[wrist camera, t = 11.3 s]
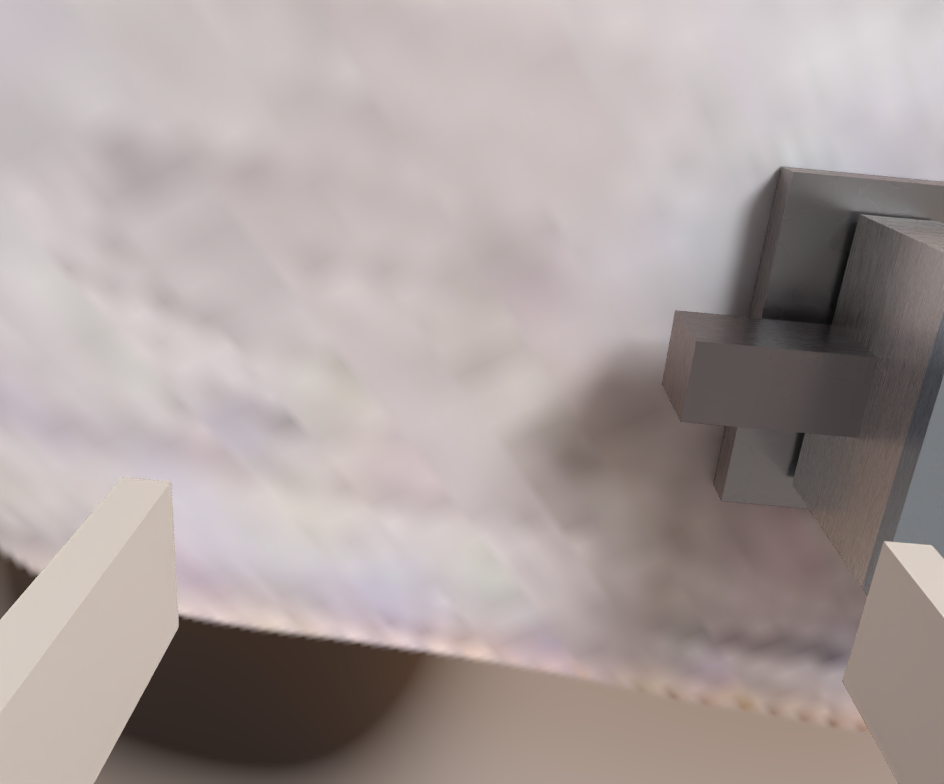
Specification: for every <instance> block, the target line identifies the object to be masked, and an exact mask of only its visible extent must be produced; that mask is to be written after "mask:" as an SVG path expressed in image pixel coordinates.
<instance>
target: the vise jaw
mask: <svg viewBox="0 0 944 784" xmlns="http://www.w3.org/2000/svg"><path fill="white" fill-rule="evenodd" d="M662 385H663V387H664V389H665V391H666V393H667V395H668V397H669V399H670V401H671V403H672V405H673V407H674V409H675V411H676V413H677V415H678V417H679V419H680V421H681V422H689V423H700V424H711V425H722V426H733V427H744V428H755V429H765V430H776V431H787V432H798V433H805V434H804V439H803V443H802V447H801V451H800V455H799V459H798V463H797V467H796V471H795V475H794V479H793V483H792V485H793V487H794V488H795V490H796V491H797V493H798V494H799V495H800V497H801V498H802V500H803V501H804V503H805V504H806V506H807V507H808V509H809V510H810V512H811V513H812V515H813V516H814V518H815V519H816V521H817V522H818V523H819V525H820V526H821V528H822V529H823V531H824V532H825V534H826V535H827V537H828V538H829V540H830V541H831V543H832V544H833V546H834V547H835V548H836V550H837V551H838V553H839V554H840V556H841V557H842V559H843V560H844V562H845V563H846V565H847V566H848V568H849V569H850V571H851V572H852V574H853V575H854V576H855V578H856V579H857V581H858V582H859V584H860V585H861V587H862V588H863V590H864V591H865V593H866V594H867V596H868V593H869V589H870V586H871V583H872V579H873V576H874V572H875V569H876V566H877V562H878V559H879V555H880V552H881V549H882V545H883V542H884V541H888V542H900V543H912V544H924V545H932V546H933V547H934V548H935V549H936V551H937V552H938V553H939V554H940V555H941V556H942V557H943V559H944V223H942V222H938V221H928V220H917V219H906V218H896V217H885V216H874V215H864V214H859V218H858V222H857V226H856V230H855V234H854V238H853V242H852V246H851V250H850V254H849V258H848V262H847V266H846V270H845V274H844V278H843V282H842V286H841V290H840V294H839V298H838V302H837V306H836V310H835V314H834V318H833V322H832V325H827V324H816V323H806V322H795V321H784V320H773V319H763V318H752V317H741V316H730V315H720V314H709V313H698V312H687V311H677V310H675V315H674V320H673V326H672V331H671V337H670V342H669V348H668V354H667V359H666V365H665V370H664V376H663V381H662Z"/></svg>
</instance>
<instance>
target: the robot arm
mask: <svg viewBox="0 0 944 784" xmlns="http://www.w3.org/2000/svg"><path fill="white" fill-rule="evenodd" d="M178 625H179V623H178V603H177V583H176V563H175V544H174V524H173V504H172V484H171V481H160V480H148V479H136V478H124V477H122V479H121V480H120V481H119V482H118V483H117V484H116V486H115V487H114V488H113V489H112V490H111V491H110V493H109V494H108V495H107V496H106V497H105V498H104V500H103V501H102V502H101V503H100V504H99V505H98V507H97V508H96V509H95V510H94V511H93V512H92V514H91V515H90V516H89V517H88V518H87V519H86V521H85V522H84V523H83V524H82V525H81V526H80V528H79V529H78V530H77V531H76V532H75V533H74V535H73V536H72V537H71V538H70V539H69V540H68V542H67V543H66V544H65V545H64V546H63V547H62V548H61V550H60V551H59V552H58V553H57V554H56V555H55V557H54V558H53V559H52V560H51V561H50V562H49V564H48V565H47V566H46V567H45V568H44V569H43V571H42V572H41V573H40V574H39V575H38V576H37V578H36V579H35V580H34V581H33V582H32V584H31V585H30V586H29V587H28V588H27V589H26V590H25V592H24V593H23V594H22V595H21V596H20V598H19V599H18V600H17V601H16V602H15V603H14V605H13V606H12V607H11V608H10V609H9V610H8V611H7V613H6V614H5V615H4V616H3V617H2V618H1V620H0V784H94V782H95V780H96V778H97V777H98V775H99V773H100V771H101V769H102V767H103V765H104V764H105V761H106V760H107V758H108V756H109V754H110V753H111V751H112V749H113V747H114V745H115V743H116V741H117V740H118V738H119V736H120V734H121V732H122V730H123V729H124V727H125V725H126V723H127V721H128V719H129V717H130V716H131V714H132V712H133V710H134V708H135V707H136V705H137V703H138V701H139V699H140V697H141V695H142V694H143V692H144V690H145V688H146V686H147V684H148V683H149V680H150V679H151V677H152V675H153V673H154V671H155V670H156V668H157V666H158V664H159V662H160V660H161V659H162V657H163V655H164V653H165V651H166V649H167V647H168V646H169V644H170V642H171V640H172V638H173V636H174V634H175V633H176V631H177V629H178V627H179V626H178ZM842 682H843V684H844V686H845V687H846V689H847V691H848V693H849V695H850V697H851V698H852V700H853V702H854V704H855V706H856V707H857V709H858V711H859V713H860V715H861V717H862V718H863V720H864V722H865V724H866V726H867V728H868V729H869V731H870V733H871V735H872V737H873V739H874V740H875V742H876V744H877V746H878V748H879V750H880V751H881V753H882V755H883V757H884V758H885V761H886V762H887V764H888V766H889V768H890V769H891V771H892V773H893V775H894V777H895V779H896V781H897V782H898V784H944V559H943V557H942V556H941V555H940V554H939V553H938V552H937V551H936V549H935V548H934V547H933V546H932V545H924V544H912V543H900V542H888V541H884V542H883V545H882V549H881V552H880V555H879V559H878V562H877V566H876V569H875V572H874V576H873V579H872V583H871V586H870V589H869V593H868V596H867V599H866V603H865V606H864V610H863V613H862V616H861V620H860V623H859V627H858V630H857V633H856V637H855V640H854V644H853V647H852V650H851V654H850V657H849V660H848V664H847V667H846V671H845V674H844V677H843V681H842Z"/></svg>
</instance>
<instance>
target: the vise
mask: <svg viewBox="0 0 944 784" xmlns="http://www.w3.org/2000/svg"><path fill="white" fill-rule="evenodd" d="M859 214H864V215H874V216H885V217H896V218H906V219H917V220H928V221H938V222H942V223H944V182H939V181H928V180H918V179H907V178H896V177H886V176H875V175H865V174H854V173H843V172H833V171H822V170H812V169H801V168H790V167H781V168H780V173H779V178H778V183H777V187H776V192H775V197H774V201H773V206H772V211H771V216H770V220H769V225H768V230H767V234H766V239H765V244H764V249H763V253H762V258H761V263H760V267H759V272H758V277H757V282H756V286H755V291H754V296H753V300H752V305H751V310H750V315H749V317H752V318H763V319H773V320H784V321H795V322H806V323H816V324H827V325H832V322H833V318H834V314H835V310H836V306H837V302H838V298H839V294H840V290H841V286H842V282H843V278H844V274H845V270H846V266H847V262H848V258H849V254H850V250H851V246H852V242H853V238H854V234H855V230H856V226H857V222H858V218H859ZM804 434H805V433H798V432H787V431H776V430H765V429H755V428H744V427H733V426H726V428H725V432H724V437H723V442H722V446H721V451H720V456H719V461H718V465H717V470H716V475H715V479H714V484H713V485H714V487H715V489H716V491H717V493H718V495H719V497H720V499H721V501H728V502H739V503H750V504H761V505H772V506H783V507H794V508H805V509H808V507H807V506H806V504H805V503H804V501H803V500H802V498H801V497H800V495H799V494H798V493H797V491H796V490H795V488H794V487H793V485H792V483H793V479H794V475H795V471H796V467H797V463H798V459H799V455H800V451H801V447H802V443H803V439H804Z"/></svg>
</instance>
